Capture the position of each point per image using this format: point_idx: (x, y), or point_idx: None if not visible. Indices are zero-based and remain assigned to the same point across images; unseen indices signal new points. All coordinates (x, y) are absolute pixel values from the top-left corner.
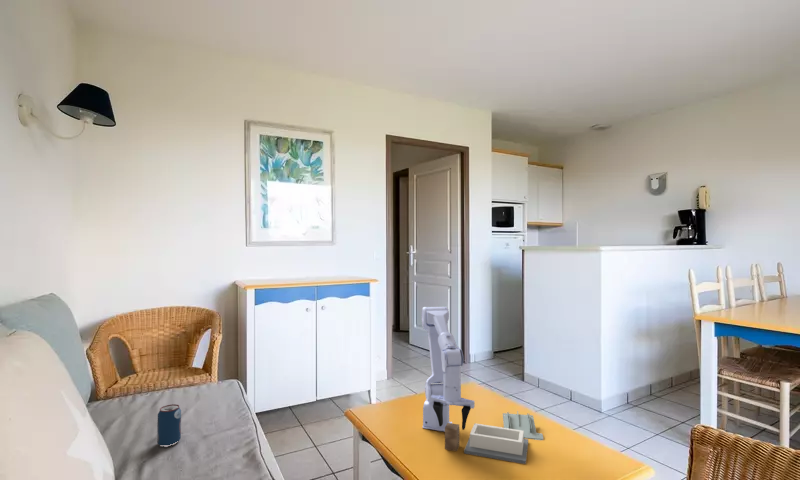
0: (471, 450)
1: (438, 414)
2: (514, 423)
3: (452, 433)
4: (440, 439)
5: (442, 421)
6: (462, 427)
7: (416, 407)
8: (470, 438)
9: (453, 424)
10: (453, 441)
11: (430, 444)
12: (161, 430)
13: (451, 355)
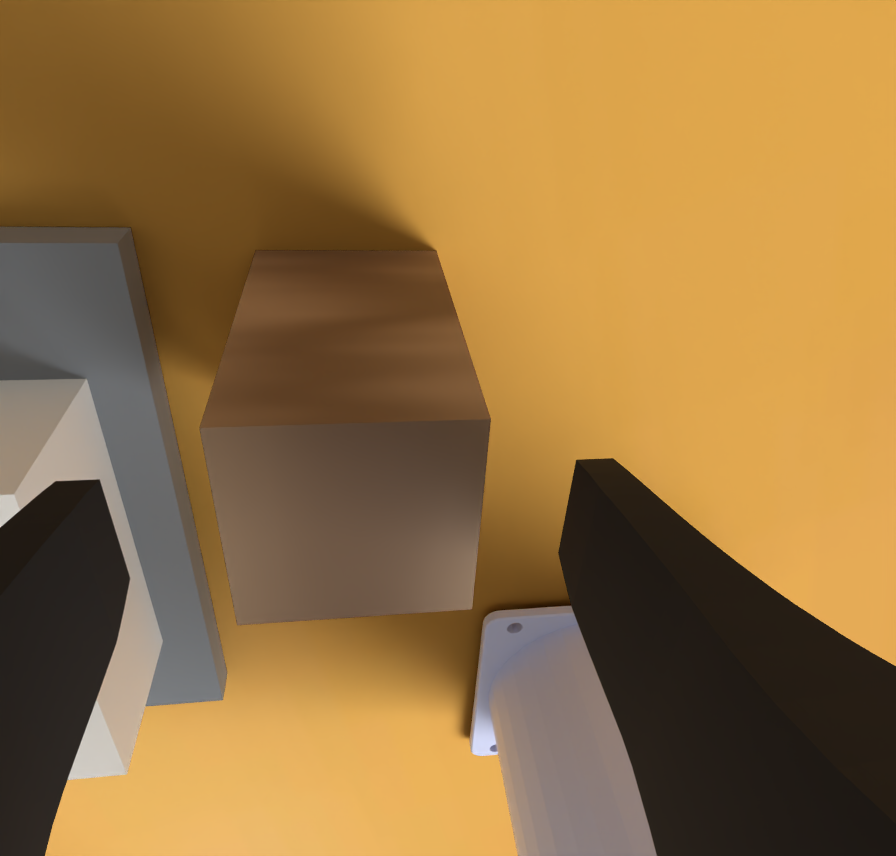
0: (3, 270)
1: (774, 638)
2: None
3: (312, 371)
4: (534, 460)
5: (576, 581)
6: (60, 504)
7: None
8: (33, 448)
9: (348, 593)
10: (299, 304)
11: (644, 306)
12: None
13: None
